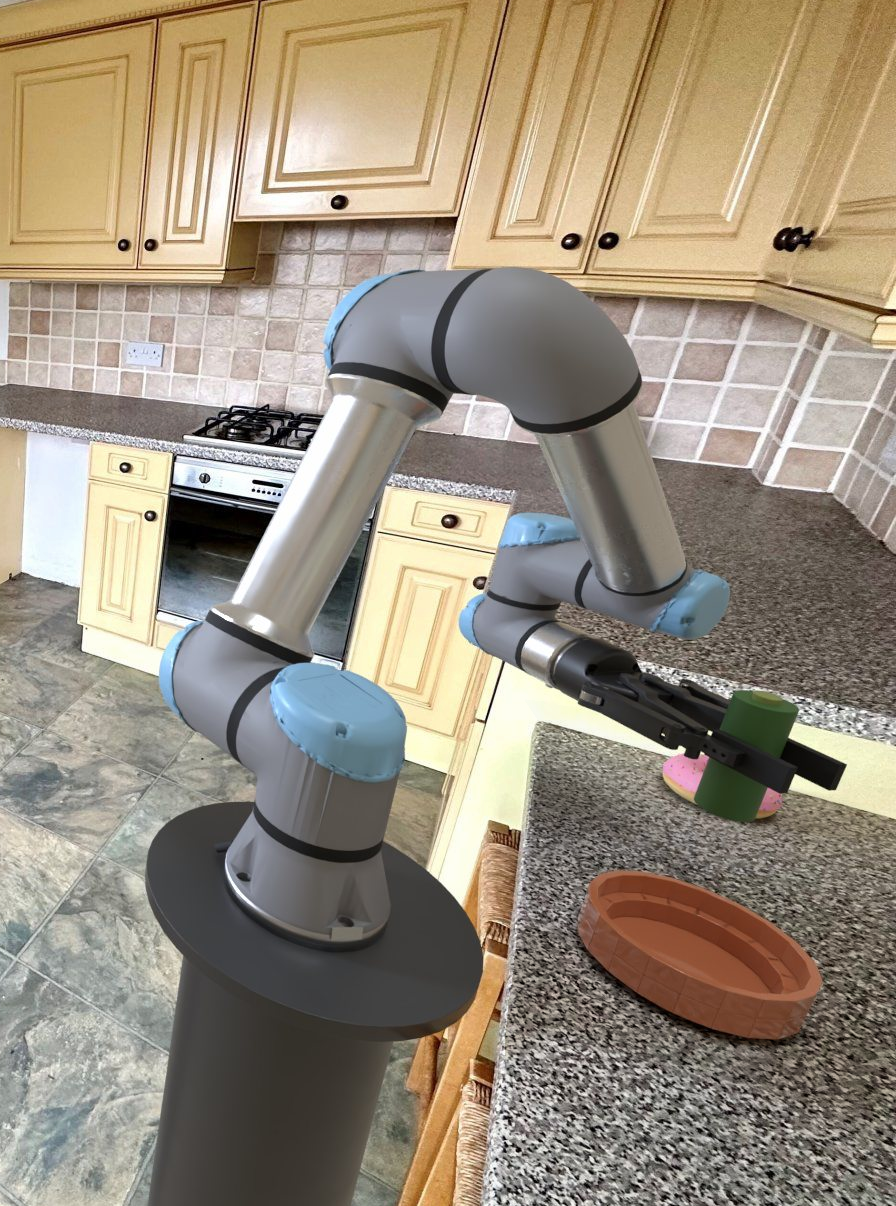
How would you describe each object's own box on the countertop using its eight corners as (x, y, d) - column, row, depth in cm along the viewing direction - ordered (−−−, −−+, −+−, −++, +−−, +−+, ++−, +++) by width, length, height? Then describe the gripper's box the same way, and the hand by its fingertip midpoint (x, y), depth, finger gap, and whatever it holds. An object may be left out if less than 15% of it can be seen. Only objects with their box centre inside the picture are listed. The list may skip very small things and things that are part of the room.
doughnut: (656, 798, 98) (666, 770, 97) (658, 763, 106) (668, 737, 104) (779, 837, 91) (792, 807, 90) (772, 797, 99) (784, 768, 97)
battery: (696, 810, 76) (739, 696, 73) (691, 790, 80) (732, 680, 76) (758, 828, 74) (806, 711, 70) (751, 806, 77) (796, 693, 73)
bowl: (574, 980, 71) (589, 937, 69) (576, 888, 82) (589, 849, 81) (818, 1082, 62) (842, 1034, 60) (781, 962, 73) (800, 920, 72)
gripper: (636, 691, 94) (880, 809, 72) (505, 696, 92) (714, 819, 70) (655, 634, 91) (912, 738, 69) (521, 638, 89) (742, 747, 67)
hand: (812, 778), depth 70 cm, fingers closed on battery, 4 cm apart
